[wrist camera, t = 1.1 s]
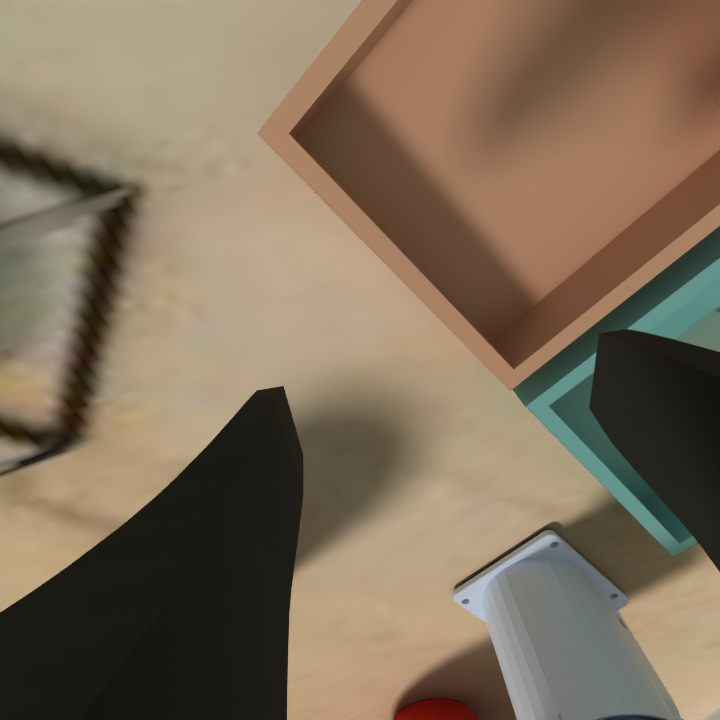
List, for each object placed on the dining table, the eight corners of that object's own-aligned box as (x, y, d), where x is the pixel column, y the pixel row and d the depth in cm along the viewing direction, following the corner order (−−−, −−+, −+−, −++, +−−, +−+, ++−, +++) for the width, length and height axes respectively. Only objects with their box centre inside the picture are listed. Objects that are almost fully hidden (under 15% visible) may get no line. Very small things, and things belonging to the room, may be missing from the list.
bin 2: (862, 363, 22) (951, 397, 18) (632, 508, 25) (673, 557, 22) (756, 160, 17) (849, 158, 14) (498, 370, 21) (525, 406, 18)
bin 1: (745, 138, 17) (837, 132, 14) (484, 356, 21) (510, 390, 17) (560, -216, 13) (633, -342, 9) (273, 139, 16) (257, 133, 13)
